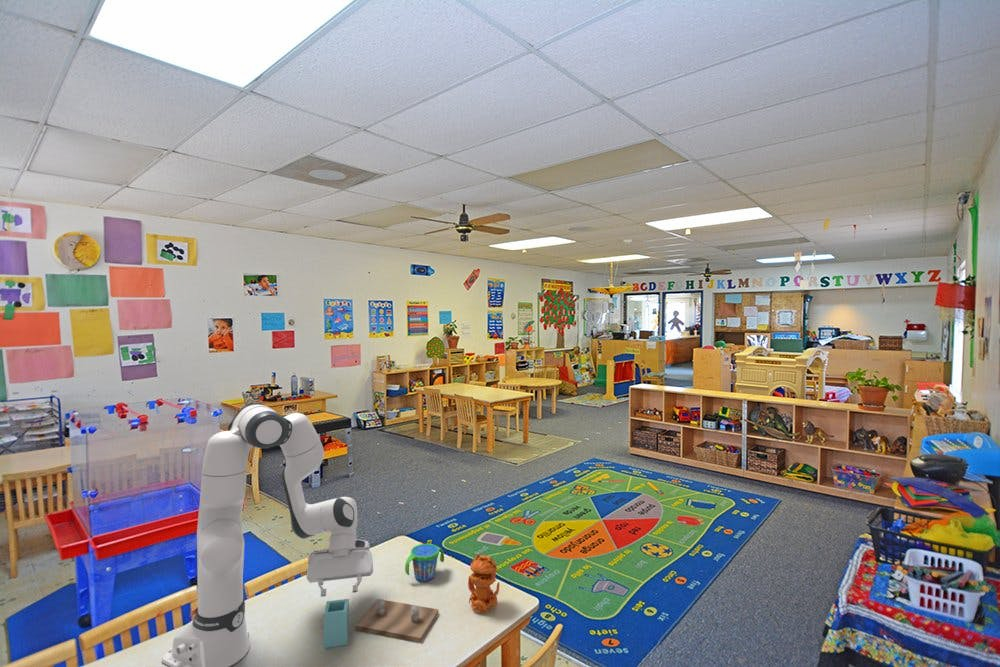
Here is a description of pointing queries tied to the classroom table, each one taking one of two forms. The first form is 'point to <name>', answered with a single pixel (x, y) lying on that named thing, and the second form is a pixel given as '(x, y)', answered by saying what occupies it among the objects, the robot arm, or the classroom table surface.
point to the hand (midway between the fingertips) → (339, 594)
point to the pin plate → (397, 620)
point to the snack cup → (424, 561)
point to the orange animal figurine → (483, 583)
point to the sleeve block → (336, 623)
